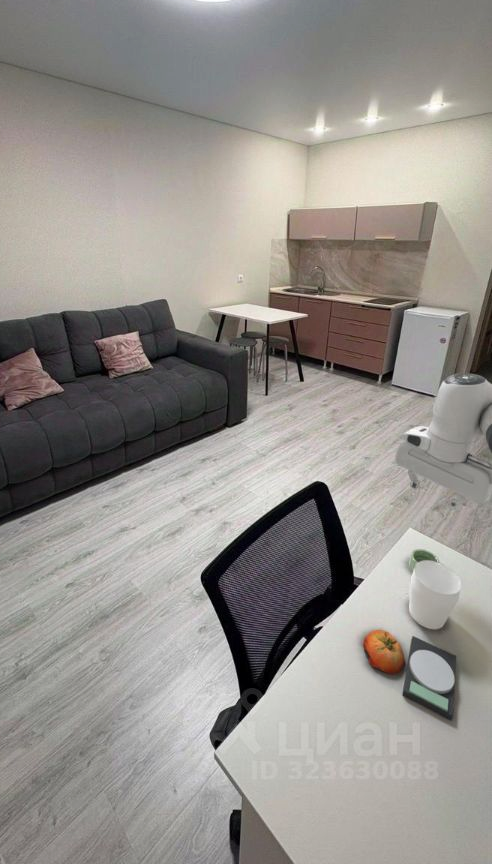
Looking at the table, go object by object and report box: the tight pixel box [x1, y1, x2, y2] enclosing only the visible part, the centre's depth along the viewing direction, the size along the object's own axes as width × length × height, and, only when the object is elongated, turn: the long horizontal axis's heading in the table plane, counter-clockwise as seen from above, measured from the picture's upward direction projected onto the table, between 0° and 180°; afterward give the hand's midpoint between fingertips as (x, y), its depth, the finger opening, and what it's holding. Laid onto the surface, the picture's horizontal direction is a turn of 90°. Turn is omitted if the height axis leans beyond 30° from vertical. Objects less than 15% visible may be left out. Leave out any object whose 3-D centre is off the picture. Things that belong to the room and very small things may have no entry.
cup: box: [408, 560, 462, 630], centre depth 85 cm, size 9×9×12 cm
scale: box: [401, 635, 457, 722], centre depth 75 cm, size 12×8×3 cm, turn 149°
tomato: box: [362, 629, 406, 675], centre depth 79 cm, size 8×7×7 cm
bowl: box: [408, 548, 441, 574], centre depth 98 cm, size 6×6×4 cm
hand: (434, 497), depth 93 cm, fingers open, 8 cm apart
